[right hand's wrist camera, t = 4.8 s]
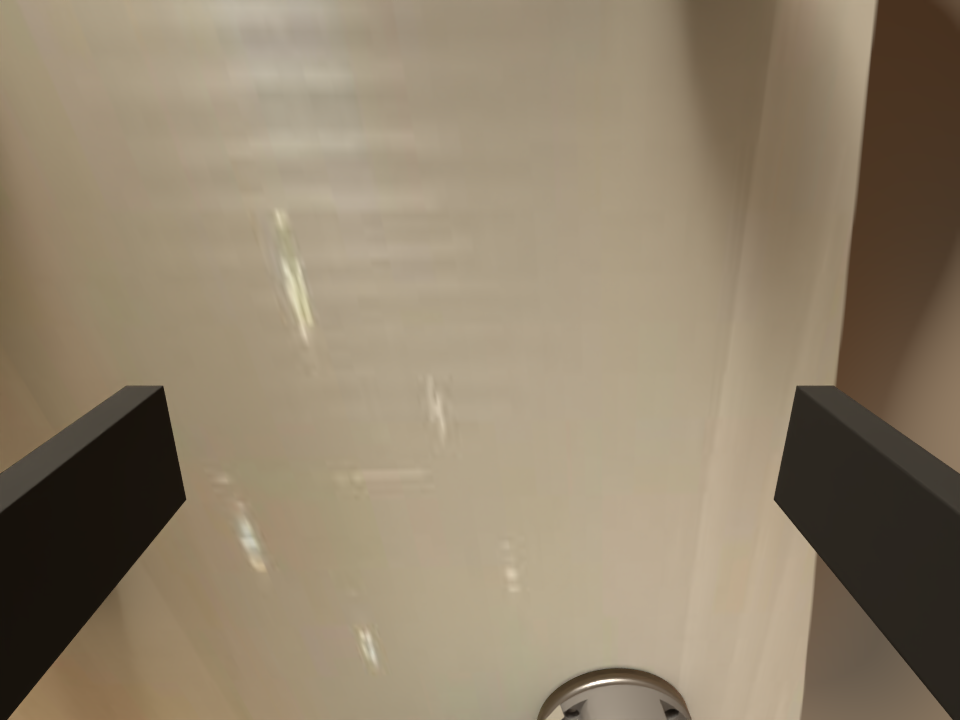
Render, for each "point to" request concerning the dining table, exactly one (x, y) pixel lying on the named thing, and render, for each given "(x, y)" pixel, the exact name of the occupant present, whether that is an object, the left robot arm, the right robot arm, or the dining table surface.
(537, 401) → the dining table surface
